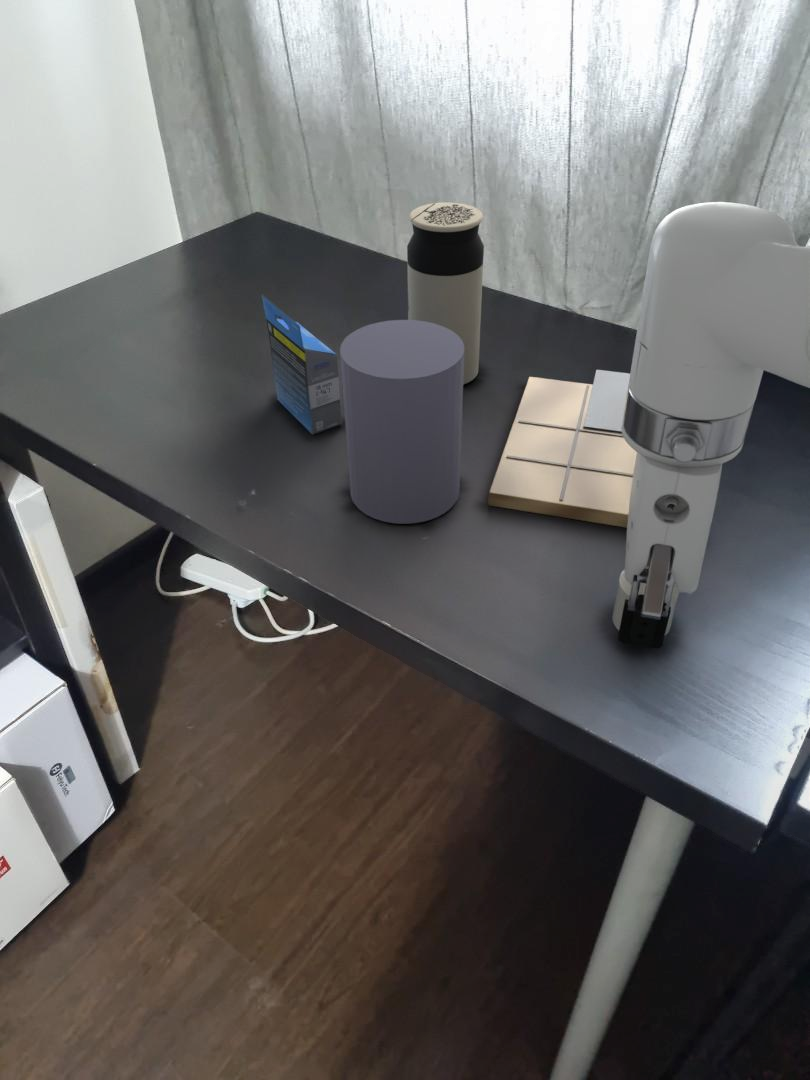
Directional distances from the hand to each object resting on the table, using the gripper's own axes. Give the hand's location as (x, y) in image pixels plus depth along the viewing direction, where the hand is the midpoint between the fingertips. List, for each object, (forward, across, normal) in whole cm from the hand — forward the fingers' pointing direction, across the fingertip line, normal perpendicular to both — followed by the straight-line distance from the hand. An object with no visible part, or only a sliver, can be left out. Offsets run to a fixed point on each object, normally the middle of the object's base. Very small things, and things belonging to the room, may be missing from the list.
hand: (642, 617), depth 64 cm
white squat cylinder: (0, 0, 0) cm, 0 cm away
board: (+1, +25, +6) cm, 25 cm away
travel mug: (+1, +35, +25) cm, 43 cm away
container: (+1, +12, +23) cm, 26 cm away
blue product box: (+1, +23, +37) cm, 43 cm away
